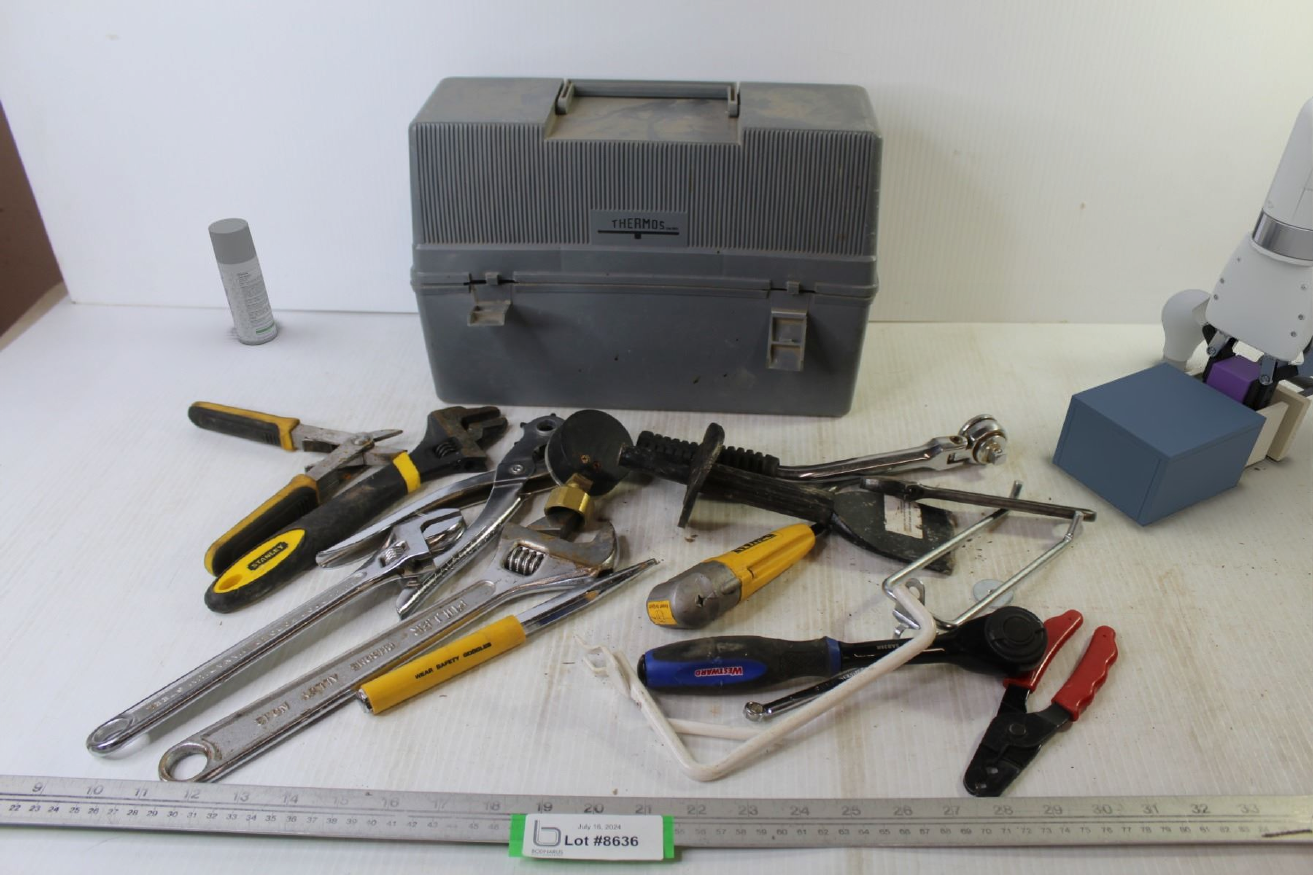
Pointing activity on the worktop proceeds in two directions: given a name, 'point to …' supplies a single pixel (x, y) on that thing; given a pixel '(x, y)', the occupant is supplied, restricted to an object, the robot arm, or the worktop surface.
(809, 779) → the worktop surface
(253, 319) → the container
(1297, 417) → the cream drawer
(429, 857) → the worktop surface
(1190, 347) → the lightbulb
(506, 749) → the worktop surface
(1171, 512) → the blue drawer cabinet
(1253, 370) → the purple cube
